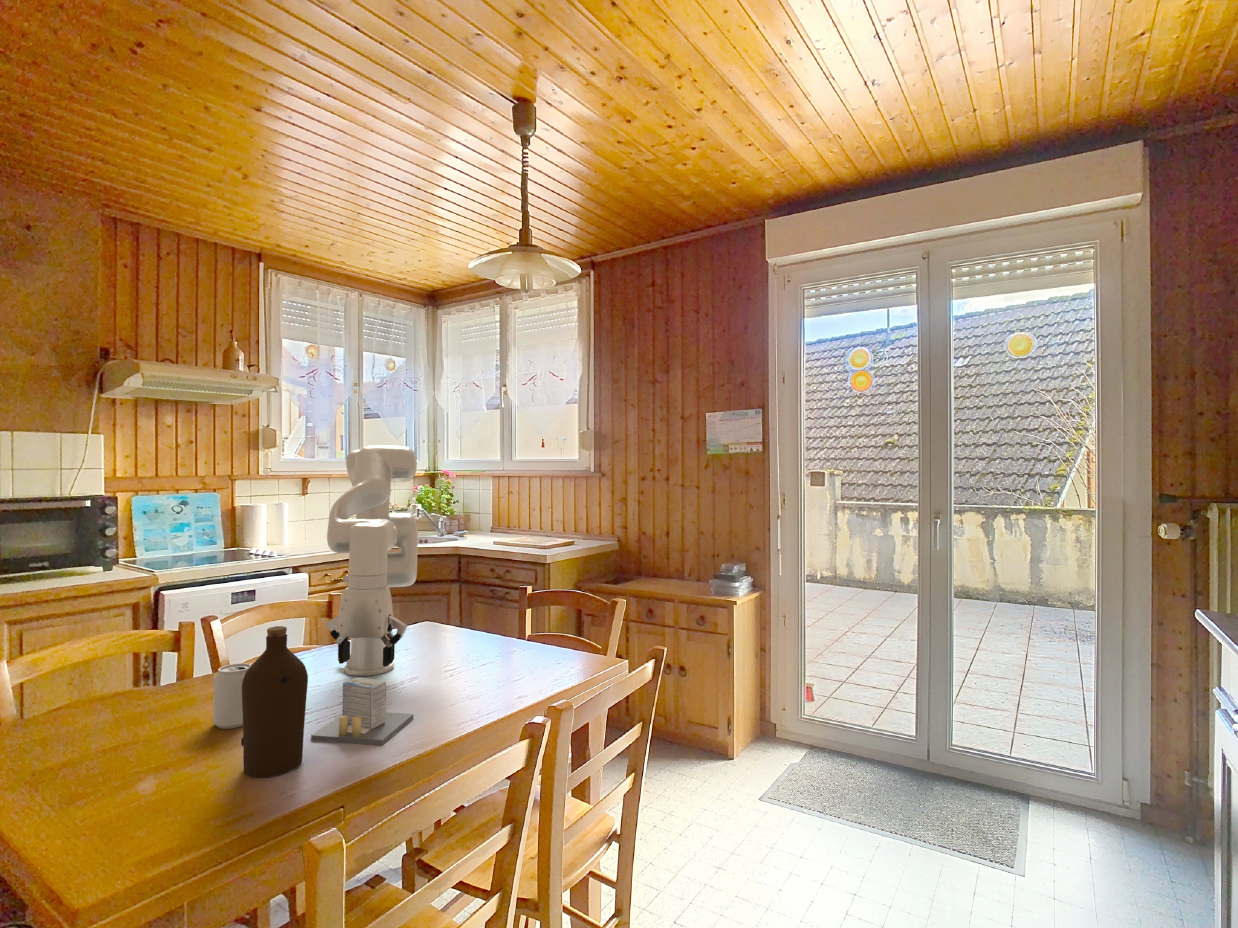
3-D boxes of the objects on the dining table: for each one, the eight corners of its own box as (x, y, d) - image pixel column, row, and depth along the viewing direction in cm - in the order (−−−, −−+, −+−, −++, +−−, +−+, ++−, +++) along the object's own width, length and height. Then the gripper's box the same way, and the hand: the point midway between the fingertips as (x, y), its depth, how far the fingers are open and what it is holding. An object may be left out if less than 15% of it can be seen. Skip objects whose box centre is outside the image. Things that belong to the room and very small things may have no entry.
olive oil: (318, 757, 120) (322, 623, 121) (274, 783, 110) (278, 637, 110) (272, 750, 123) (275, 619, 124) (224, 774, 113) (228, 632, 113)
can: (262, 719, 138) (263, 663, 139) (231, 732, 131) (232, 673, 131) (236, 714, 141) (237, 659, 141) (204, 727, 134) (205, 669, 134)
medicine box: (386, 722, 135) (387, 680, 135) (371, 730, 131) (372, 687, 131) (356, 716, 138) (357, 676, 138) (341, 724, 134) (342, 682, 134)
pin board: (310, 740, 128) (311, 717, 128) (348, 714, 142) (349, 693, 142) (382, 744, 126) (382, 722, 126) (413, 718, 140) (413, 697, 140)
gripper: (318, 583, 132) (317, 666, 132) (398, 587, 130) (396, 671, 130) (339, 576, 140) (337, 655, 140) (414, 580, 137) (413, 660, 138)
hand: (366, 663), depth 135 cm, fingers open, 9 cm apart
